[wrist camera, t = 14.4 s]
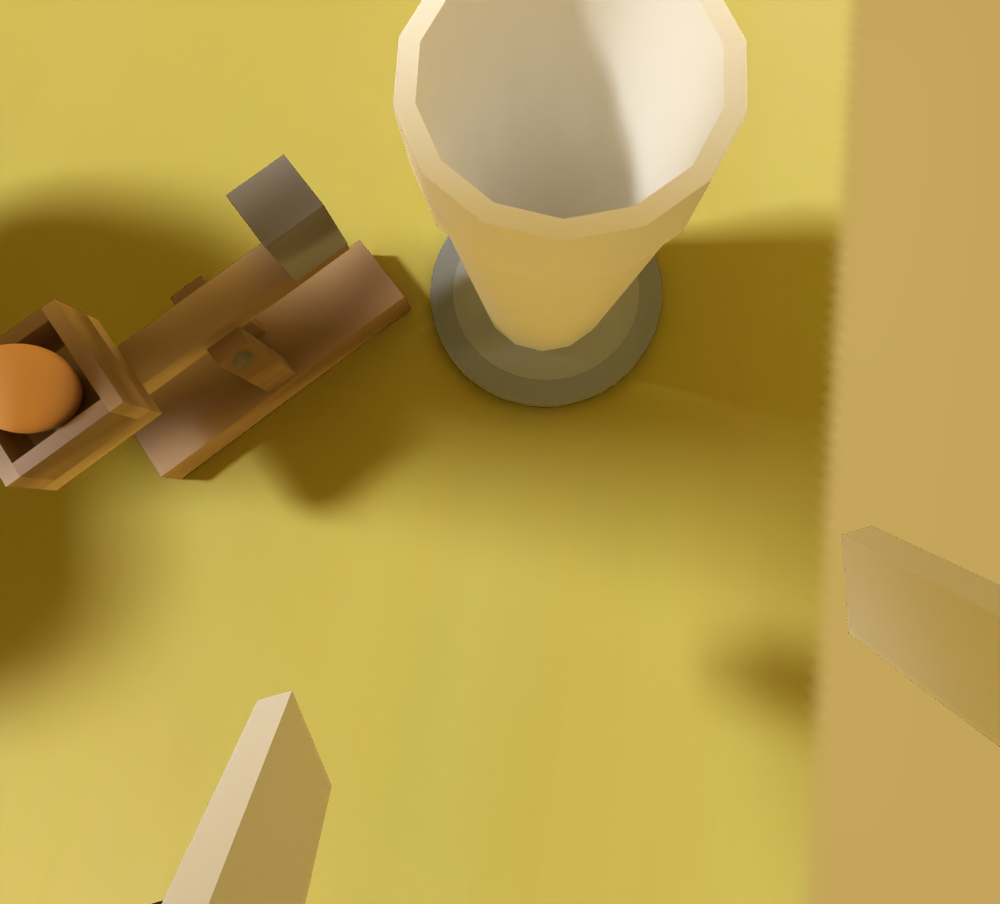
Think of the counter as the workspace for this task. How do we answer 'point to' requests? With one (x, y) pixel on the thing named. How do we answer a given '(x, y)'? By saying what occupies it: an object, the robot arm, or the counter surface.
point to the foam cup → (565, 142)
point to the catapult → (211, 344)
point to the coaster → (533, 371)
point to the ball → (36, 389)
